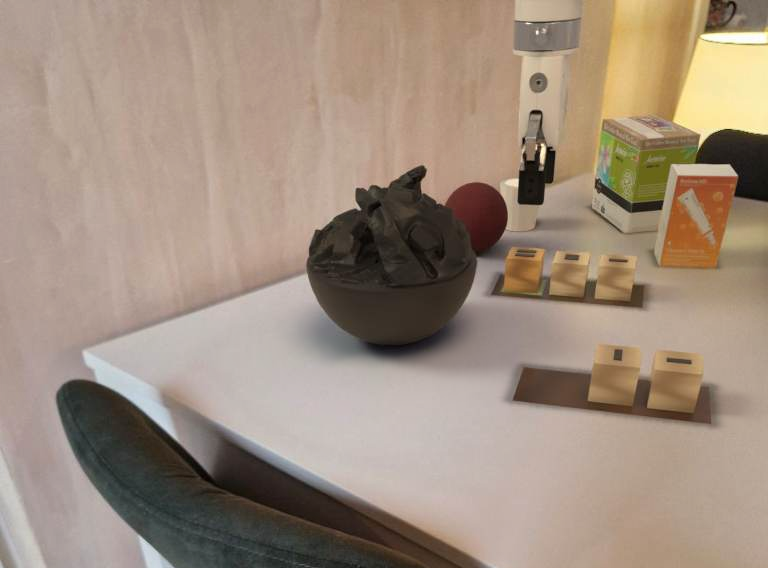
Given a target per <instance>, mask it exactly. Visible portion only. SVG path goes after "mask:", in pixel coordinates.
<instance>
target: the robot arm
mask: <svg viewBox="0 0 768 568" xmlns="http://www.w3.org/2000/svg"><path fill="white" fill-rule="evenodd" d="M583 4H584V0H515V1H514V22H513V45H512V54H513V55H514V56H519V57H521V69H520V83H519V101H518V120H517V121H518V123H517V124H518V125H517V145H518V148H520V149H521V150H522V152H521V158H520V165H519V170H518V178H519V182H518V204H520V205H539V206H542V205H543V204H544V202H545V195H546V194H545V193H546V184H547V185H550V184H552V183H554V178H555V165H556V155H557V154H556V153H557V150H558V149H559V148H560V146H561V145H562V143H563V141H564V138H565V136H566V134H567V133H566V132H567V117H568V115H567V114H568V102H569V101H568V100H569V88H570V87H569V86H570V85H569V84H570V63H571V62H570V61H571V60H570V59H571V55H573V54H577V53H579V49H580V39H581V30H582V29H581V28H582V15H583V6H584V5H583Z"/></svg>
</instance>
